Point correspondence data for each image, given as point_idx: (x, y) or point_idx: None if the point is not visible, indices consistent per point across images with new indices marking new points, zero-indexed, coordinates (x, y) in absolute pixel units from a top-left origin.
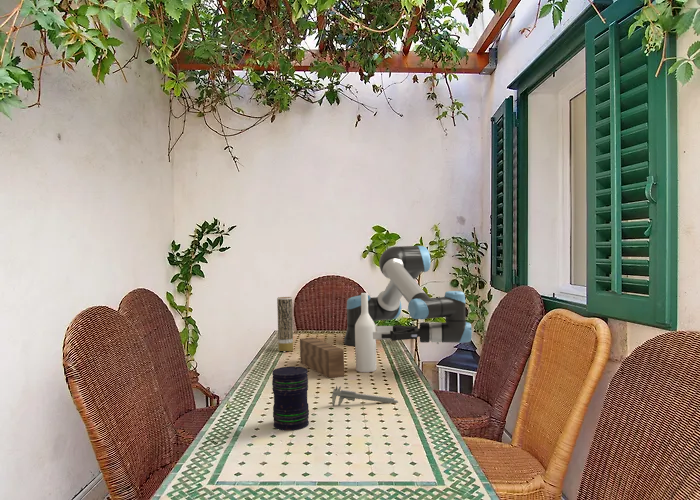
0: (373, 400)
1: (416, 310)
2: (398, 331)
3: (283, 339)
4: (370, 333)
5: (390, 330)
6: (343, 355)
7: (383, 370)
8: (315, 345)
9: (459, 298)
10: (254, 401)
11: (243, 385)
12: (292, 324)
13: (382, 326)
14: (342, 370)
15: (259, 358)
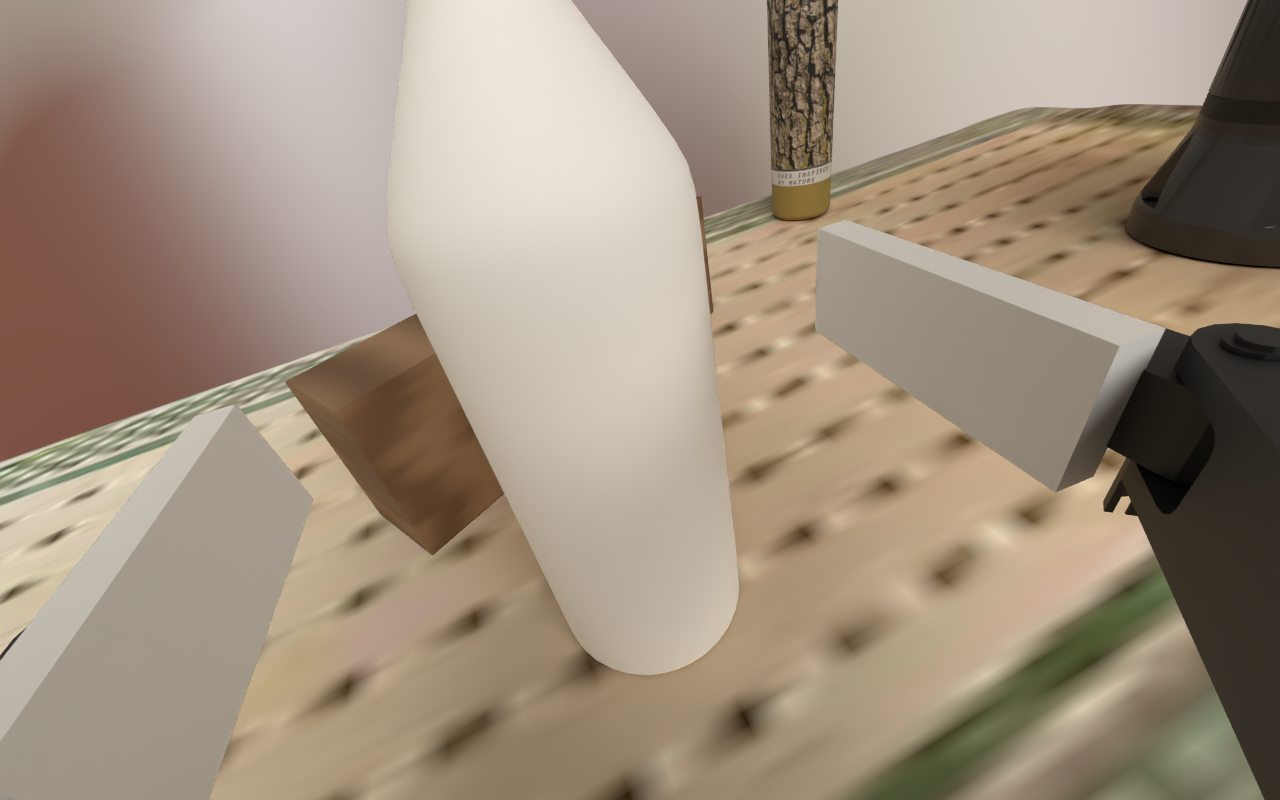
0: None
1: None
2: (1225, 615)
3: (775, 168)
4: (458, 366)
5: (1020, 413)
6: (358, 448)
7: (699, 752)
8: None
9: None
10: (57, 480)
11: (310, 360)
12: (823, 99)
13: (893, 261)
14: (408, 522)
15: None
